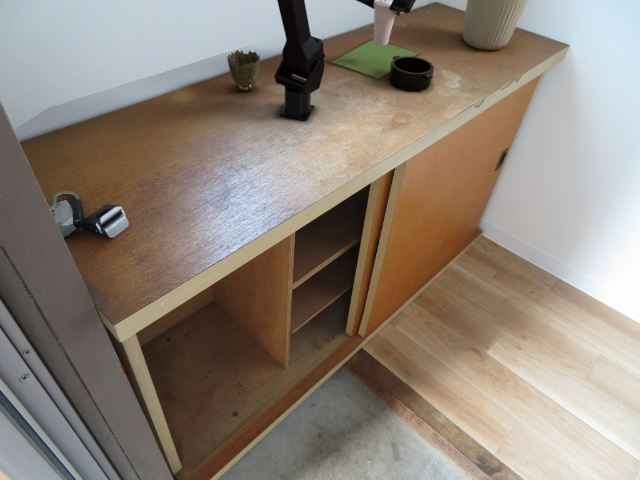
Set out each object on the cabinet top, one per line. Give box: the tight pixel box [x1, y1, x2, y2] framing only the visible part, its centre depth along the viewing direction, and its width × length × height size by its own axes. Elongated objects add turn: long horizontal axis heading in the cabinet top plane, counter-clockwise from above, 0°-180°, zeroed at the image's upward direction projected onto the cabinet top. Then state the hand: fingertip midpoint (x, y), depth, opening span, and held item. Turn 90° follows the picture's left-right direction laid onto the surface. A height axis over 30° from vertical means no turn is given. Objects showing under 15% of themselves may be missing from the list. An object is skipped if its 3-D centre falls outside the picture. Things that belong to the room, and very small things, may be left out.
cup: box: [226, 49, 261, 93], centre depth 103 cm, size 8×7×8 cm
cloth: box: [331, 38, 419, 80], centre depth 123 cm, size 22×15×1 cm
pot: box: [388, 55, 435, 92], centre depth 111 cm, size 10×13×4 cm
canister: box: [462, 0, 529, 51], centre depth 127 cm, size 18×18×21 cm
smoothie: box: [373, 0, 396, 45], centre depth 111 cm, size 6×6×14 cm
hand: (388, 11), depth 111 cm, fingers closed on smoothie, 6 cm apart
